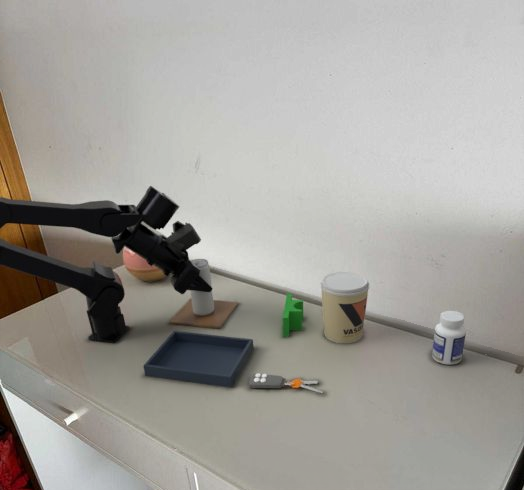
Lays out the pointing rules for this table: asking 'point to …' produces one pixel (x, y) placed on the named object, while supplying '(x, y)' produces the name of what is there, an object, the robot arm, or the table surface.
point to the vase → (141, 264)
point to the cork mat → (211, 321)
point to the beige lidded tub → (344, 306)
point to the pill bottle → (449, 338)
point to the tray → (200, 358)
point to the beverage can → (202, 300)
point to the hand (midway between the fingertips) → (207, 284)
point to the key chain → (278, 382)
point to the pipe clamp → (292, 315)
